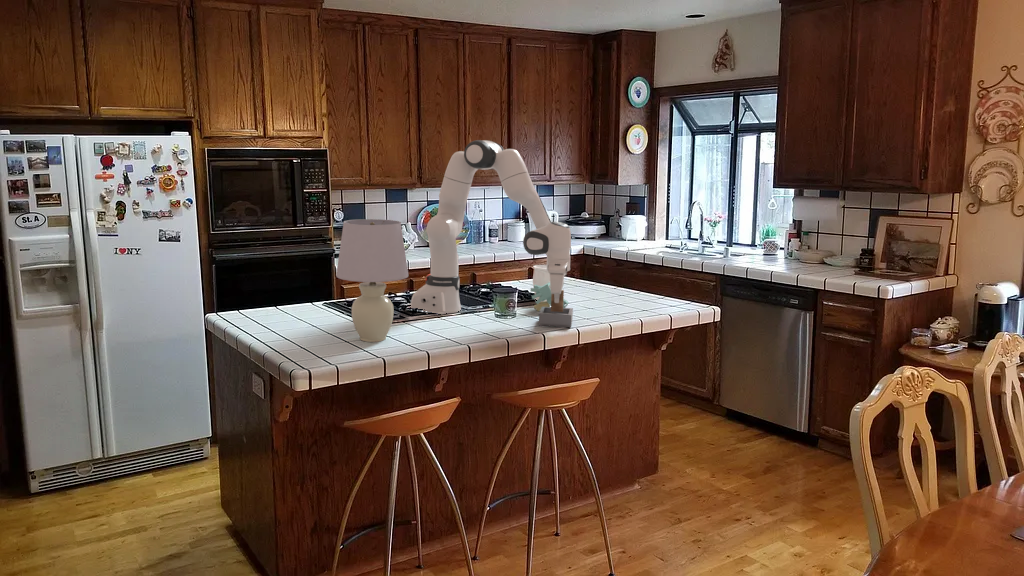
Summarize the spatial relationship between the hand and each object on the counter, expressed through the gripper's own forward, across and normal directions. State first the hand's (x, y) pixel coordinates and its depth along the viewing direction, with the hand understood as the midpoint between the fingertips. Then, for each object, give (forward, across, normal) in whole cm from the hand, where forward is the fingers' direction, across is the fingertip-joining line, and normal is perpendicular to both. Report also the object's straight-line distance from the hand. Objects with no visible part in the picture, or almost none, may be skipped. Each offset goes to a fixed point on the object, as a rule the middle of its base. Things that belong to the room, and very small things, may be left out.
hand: (557, 301), depth 295 cm
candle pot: (+8, 0, 0) cm, 9 cm away
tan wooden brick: (+4, 0, 0) cm, 4 cm away
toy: (+9, -23, -4) cm, 25 cm away
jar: (+9, -43, -8) cm, 45 cm away
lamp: (+8, +38, -60) cm, 72 cm away
